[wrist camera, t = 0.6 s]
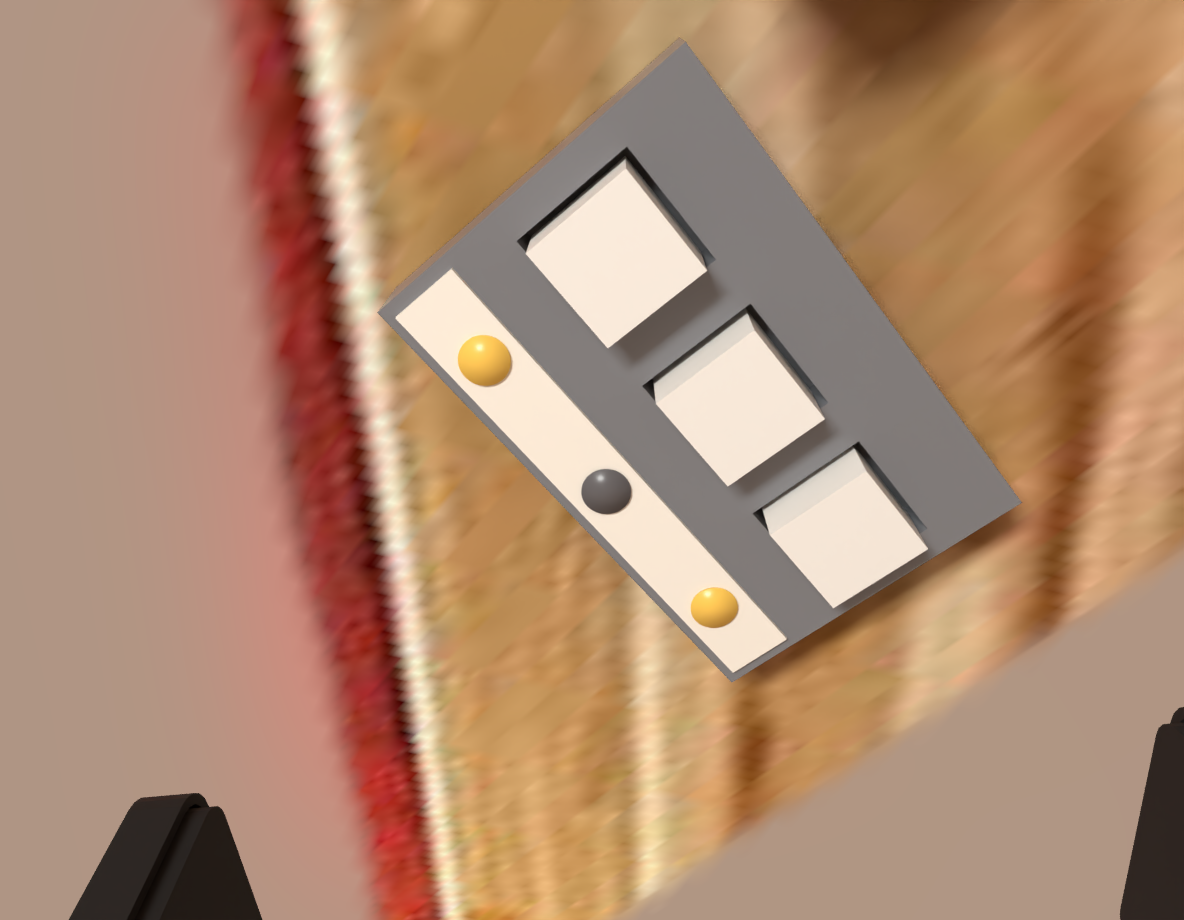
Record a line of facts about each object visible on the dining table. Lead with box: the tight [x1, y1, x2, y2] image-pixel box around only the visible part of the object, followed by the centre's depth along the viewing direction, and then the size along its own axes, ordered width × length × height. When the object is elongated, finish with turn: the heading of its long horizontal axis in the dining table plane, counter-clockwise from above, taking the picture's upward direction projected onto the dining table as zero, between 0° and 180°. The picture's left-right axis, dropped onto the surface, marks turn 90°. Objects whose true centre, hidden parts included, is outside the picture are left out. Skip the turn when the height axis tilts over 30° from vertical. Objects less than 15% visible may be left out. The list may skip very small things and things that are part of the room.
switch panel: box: [377, 38, 1022, 682], centre depth 35 cm, size 13×20×3 cm, turn 40°
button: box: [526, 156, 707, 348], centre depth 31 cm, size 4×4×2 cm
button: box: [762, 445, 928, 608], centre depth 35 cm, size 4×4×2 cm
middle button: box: [653, 308, 825, 486], centre depth 33 cm, size 4×4×2 cm
